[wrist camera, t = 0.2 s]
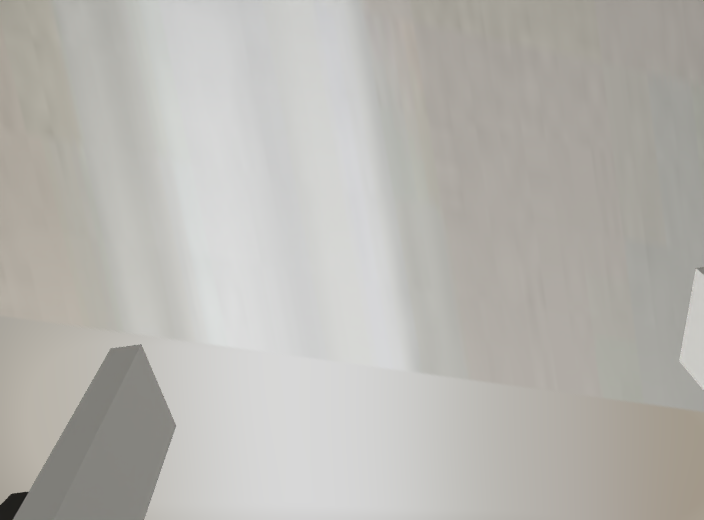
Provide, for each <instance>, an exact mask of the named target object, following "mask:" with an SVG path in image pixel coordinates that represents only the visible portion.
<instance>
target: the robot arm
mask: <svg viewBox="0 0 704 520" xmlns="http://www.w3.org/2000/svg"><path fill="white" fill-rule="evenodd" d="M679 361H680V363H681V364H682V365H683V366H684V367H685V369H686V370H687V371H688V372H689V373H690V375H691V376H692V377H693V378H694V379H695V381H696V382H697V383H698V384H699V385H700V387H701V388H702V389H703V390H704V267H701V268H696V271H695V277H694V282H693V288H692V293H691V299H690V304H689V310H688V316H687V321H686V327H685V332H684V338H683V343H682V349H681V354H680V360H679ZM175 427H176V424H175V422H174V420H173V417H172V415H171V413H170V410H169V408H168V406H167V403H166V401H165V399H164V396H163V394H162V392H161V389H160V387H159V385H158V382H157V380H156V378H155V375H154V373H153V371H152V368H151V366H150V364H149V361H148V359H147V357H146V354H145V352H144V350H143V347H142V345H141V344H140V345H133V346H126V347H119V348H111V349H110V351H109V352H108V354H107V356H106V358H105V360H104V361H103V363H102V365H101V367H100V368H99V370H98V372H97V374H96V375H95V377H94V379H93V380H92V382H91V384H90V386H89V387H88V389H87V391H86V393H85V394H84V397H83V398H82V400H81V401H80V404H79V405H78V407H77V408H76V410H75V412H74V414H73V416H72V417H71V419H70V421H69V422H68V424H67V426H66V428H65V429H64V431H63V433H62V435H61V436H60V438H59V440H58V442H57V443H56V445H55V447H54V449H53V450H52V452H51V454H50V456H49V458H48V459H47V461H46V463H45V465H44V466H43V468H42V470H41V471H40V473H39V475H38V477H37V478H36V480H35V482H34V484H33V485H32V487H31V489H30V491H29V492H22V493H14V494H11V495H10V496H9V497H8V498H7V499H6V500H5V501H4V502H3V503H2V504H1V505H0V520H144V518H145V515H146V512H147V509H148V506H149V503H150V500H151V497H152V495H153V492H154V489H155V486H156V483H157V480H158V477H159V474H160V471H161V468H162V465H163V463H164V459H165V456H166V453H167V451H168V448H169V445H170V442H171V439H172V435H173V433H174V430H175Z"/></svg>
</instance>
